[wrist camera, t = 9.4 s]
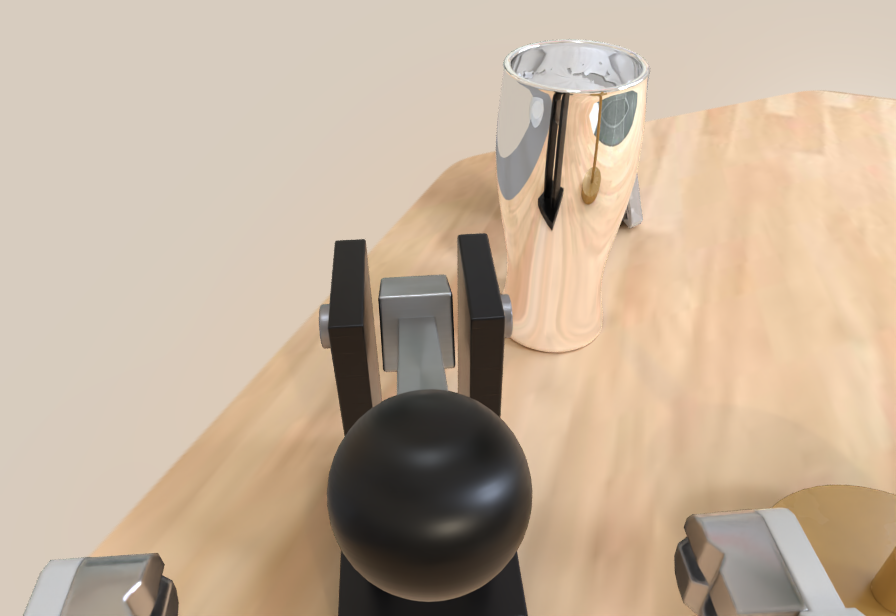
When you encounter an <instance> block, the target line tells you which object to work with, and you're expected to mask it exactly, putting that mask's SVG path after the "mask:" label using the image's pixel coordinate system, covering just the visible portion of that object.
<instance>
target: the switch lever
mask: <svg viewBox="0 0 896 616" xmlns="http://www.w3.org/2000/svg"><path fill="white" fill-rule="evenodd" d="M378 301H379V315H380V330H381V344H382V359H383V370H384V371H385V372H396V371H397V395H396V396H393V397H391V398H388V399H386V400H384V401H382V402H381V403H379V404H378V405H376V406H374V407H373V408H371V409H370V410H369V411H367V412H366V413H365V414H364V415H363V416H362V417H360V418H359V419H358V420H357V421H356V423H355V424H354V425H353V426H352V427H351V428H350V430H349V431H348V432H347V434H346V435H345V437H344V439H343V440H342V442H341V443H340V445H339V447H338V449H337V452H336V454H335V456H334V459H333V462H332V465H331V469H330V473H329V479H328V487H327V507H328V513H329V519H330V524H331V527H332V530H333V533H334V536H335V538H336V540H337V543H338V544H339V546H340V548H341V550H342V552H343V554H344V555H345V557H346V558H347V559H348V561H349V562H350V563H351V565H352V566H353V567H354V568H355V569H356V570H357V571H358V572H359V573H360V574H361V575H362V576H363V577H364V578H365V579H366V580H368V581H369V582H370V583H372V584H373V585H375V586H377V587H378V588H380V589H382V590H383V591H385V592H387V593H390V594H392V595H395V596H398V597H401V598H405V599H409V600H414V601H425V602H433V601H444V600H449V599H454V598H457V597H460V596H463V595H466V594H468V593H470V592H472V591H475V590H476V589H478V588H480V587H482V586H483V585H485V584H486V583H488V582H489V581H490V580H492V579H493V578H494V577H495V576H496V575H497V574H499V573H500V572H501V571H502V570H503V568H504V567H505V566H506V565H507V564H508V562H509V561H510V560H511V559H512V557H513V556H514V554H515V553H516V551H517V549H518V547H519V546H520V544H521V542H522V540H523V538H524V535H525V532H526V530H527V526H528V523H529V519H530V514H531V506H532V483H531V476H530V472H529V467H528V463H527V460H526V457H525V455H524V452H523V450H522V448H521V446H520V444H519V442H518V440H517V439H516V437H515V435H514V434H513V432H512V431H511V430H510V428H509V427H508V426H507V425H506V424H505V422H504V421H503V420H502V419H501V418H500V417H499V416H498V415H496V414H495V413H494V412H493V411H492V410H490V409H489V408H487V407H486V406H485V405H483V404H482V403H480V402H478V401H476V400H474V399H472V398H470V397H467V396H465V395H462V394H459V393H455V392H451V391H448V386H447V381H446V375H445V370H444V369H445V368H454V367H455V347H454V323H453V299H452V292H451V289H450V286H449V283H448V279H447V277H446V275H428V276H410V277H392V278H383V279H381V284H380V291H379V298H378Z"/></svg>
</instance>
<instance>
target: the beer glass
mask: <svg viewBox="0 0 896 616" xmlns="http://www.w3.org/2000/svg"><path fill="white" fill-rule="evenodd" d="M503 67H504V69H503V79H502V88H501V95H500V104H499V113H498V121H497V137H496V178H497V188H498V197H499V204H500V211H501V217H502V223H503V229H504V236H505V242H506V250H507V278H506V283H505V287H504V291H503V294H508V295H509V297H510V300H511V305H512V314H513V331H512V336H511V337H510V338H512V339H513V340H514V341H516V342H517V343H519V344H521V345H523V346H525V347H528V348H531V349H534V350H538V351H544V352H566V351H572V350H575V349H578V348H581V347H583V346H586V345H587V344H589V343H590V342H592V341H593V340H594V339H595V338H596V337H597V336H598V334H599V333H600V331H601V328H602V325H603V309H602V297H601V285H602V277H603V272H604V268H605V264H606V261H607V258H608V256H609V253H610V250H611V247H612V245H613V242H614V240H615V237H616V234H617V232H618V229H619V227H620V224H621V221H622V219H623V216H624V213H625V211H626V208H627V205H628V202H629V199H630V196H631V192H632V189H633V186H634V183H635V179H636V174H637V169H638V164H639V160H640V154H641V147H642V140H643V133H644V124H645V112H646V100H647V88H648V78H649V74H650V66H649V64H648V63H647V61H646V60H645V59H644V58H643V57H642V56H640V55H639V54H637V53H635V52H633V51H631V50H629V49H626V48H623V47H620V46H617V45H613V44H609V43H603V42H597V41H589V40H551V41H543V42H537V43H532V44H529V45H526V46H522V47H520V48H518V49H516V50H514V51H512V52H511V53H510V54H508V55H507V56H506V58H505V59H504V62H503Z"/></svg>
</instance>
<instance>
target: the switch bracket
mask: <svg viewBox="0 0 896 616" xmlns="http://www.w3.org/2000/svg"><path fill="white" fill-rule="evenodd" d="M457 245H458V393H459V394H462V395H465V396H467V397H470V398H472V399H474V400H476V401H478V402H480V403H482V404H483V405H485V406H486V407H487V408H489V409H490V410H492V411H493V412H494V413H495V414H496V415H498V416H499V417H500V416H501V397H502V377H503V358H504V339H505V338H510V337H511V336H512V331H513V314H512V305H511V300H510V297H509V295H508V294H500V290H499V285H498V281H497V276H496V272H495V267H494V262H493V258H492V253H491V249H490V244H489V240H488V236H487V234H485V233H482V234H463V235H458V238H457ZM319 330H320V339H321V344H322V347H323V348H325V349H326V348H331V354H332V360H333V366H334V373H335V379H336V385H337V392H338V398H339V404H340V411H341V417H342V423H343V429H344V436H345V435H346V434H347V432H348V431H349V430H350V428H351V427H352V426H353V425H354V424H355V423H356V421H357V420H358V419H359V418H360V417H362V416H363V415H364V414H365V413H366V412H367V411H369V410H370V409H371V408H373V407H374V406H376V405H378V404H379V403H381V402H382V395H381V385H380V375H379V366H378V356H377V346H376V336H375V327H374V317H373V307H372V297H371V288H370V278H369V268H368V258H367V249H366V241H365V240H364V239H362V240H340V241H336V242H335V248H334V259H333V270H332V282H331V293H330V304H323V305H321V306H320V310H319ZM338 616H528V614H527V608H526V602H525V596H524V590H523V584H522V578H521V573H520V567H519V561H518V555H517V551H516V553H515V554H514V556H513V557H512V559H511V560H510V561H509V562H508V564H507V565H506V566H505V567H504V568H503V570H502V571H501V572H500V573H499V574H497V575H496V576H495V577H494V578H493V579H492V580H490V581H489V582H488V583H486V584H485V585H483V586H482V587H480V588H478V589H476V590H475V591H472V592H470V593H468V594H466V595H463V596H460V597H457V598H454V599H449V600H444V601H433V602H425V601H414V600H409V599H405V598H401V597H398V596H395V595H392V594H390V593H387V592H385V591H383V590H382V589H380V588H378V587H377V586H375V585H373V584H372V583H370V582H369V581H368V580H366V579H365V578H364V577H363V576H362V575H361V574H360V573H359V572H358V571H357V570H356V569H355V568H354V567H353V566H352V565H351V563H350V562H349V561H348V559H347V558H346V557H345V555H344V554H343V552H342V550H341V564H340V586H339V607H338Z"/></svg>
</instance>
